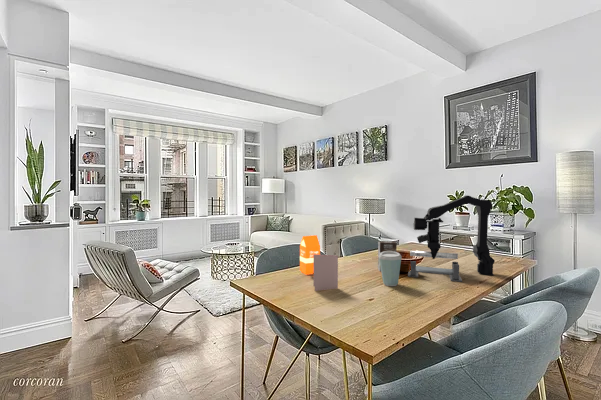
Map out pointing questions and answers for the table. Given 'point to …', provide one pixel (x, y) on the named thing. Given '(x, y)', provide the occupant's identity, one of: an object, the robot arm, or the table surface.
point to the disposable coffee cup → (390, 267)
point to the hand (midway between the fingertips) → (433, 258)
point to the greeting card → (325, 272)
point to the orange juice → (308, 253)
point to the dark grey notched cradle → (453, 277)
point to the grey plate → (434, 270)
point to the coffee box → (385, 248)
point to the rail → (439, 255)
